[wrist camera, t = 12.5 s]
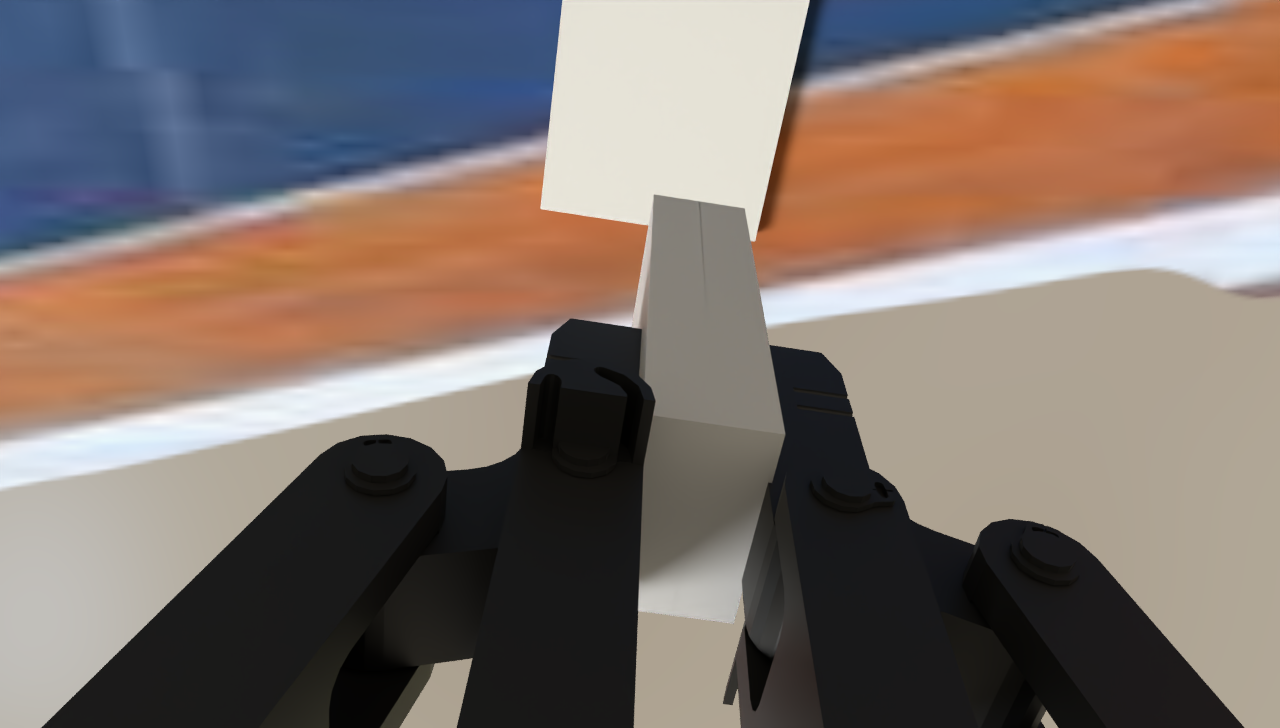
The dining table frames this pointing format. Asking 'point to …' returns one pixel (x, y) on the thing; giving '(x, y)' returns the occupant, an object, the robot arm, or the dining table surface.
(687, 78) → the pad
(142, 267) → the dining table surface
